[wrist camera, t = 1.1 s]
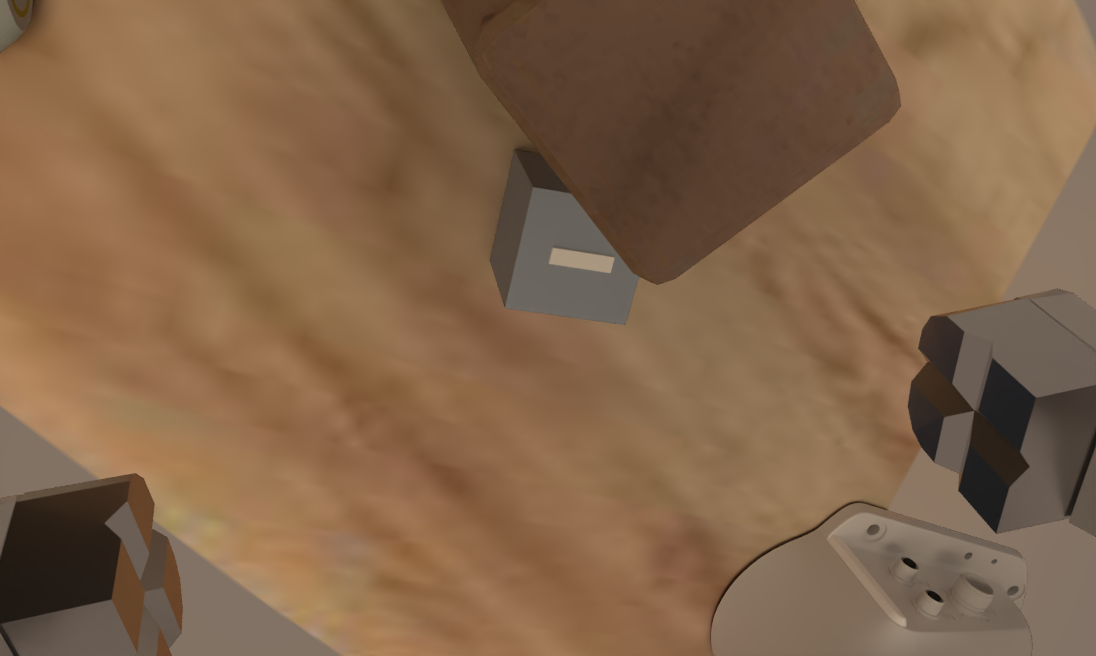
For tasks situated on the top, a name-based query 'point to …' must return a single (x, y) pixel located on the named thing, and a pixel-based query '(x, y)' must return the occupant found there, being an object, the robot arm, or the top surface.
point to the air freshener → (13, 20)
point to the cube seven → (555, 251)
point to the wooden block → (681, 107)
